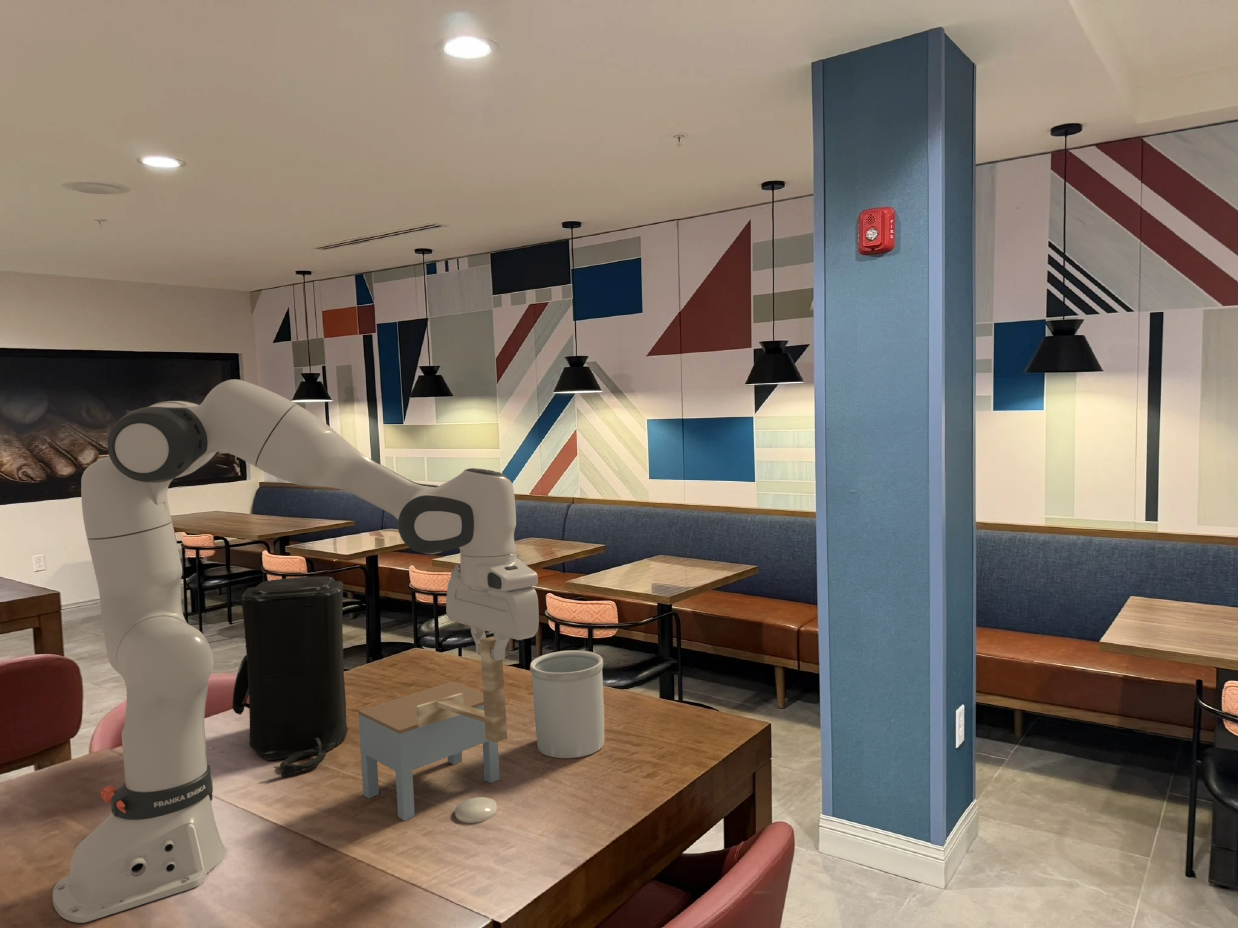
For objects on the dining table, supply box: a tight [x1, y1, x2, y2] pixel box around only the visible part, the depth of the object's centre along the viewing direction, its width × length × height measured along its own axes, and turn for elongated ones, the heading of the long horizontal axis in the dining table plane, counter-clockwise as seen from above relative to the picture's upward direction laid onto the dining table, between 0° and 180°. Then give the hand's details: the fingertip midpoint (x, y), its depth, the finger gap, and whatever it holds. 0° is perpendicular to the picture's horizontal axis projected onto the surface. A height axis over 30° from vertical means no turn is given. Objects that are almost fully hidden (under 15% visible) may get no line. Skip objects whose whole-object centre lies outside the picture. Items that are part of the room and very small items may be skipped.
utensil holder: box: [529, 650, 605, 759], centre depth 165 cm, size 15×15×18 cm
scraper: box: [416, 636, 508, 743], centre depth 135 cm, size 9×18×16 cm, turn 45°
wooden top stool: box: [358, 681, 501, 821], centre depth 149 cm, size 20×14×16 cm
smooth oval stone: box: [454, 796, 498, 824], centre depth 139 cm, size 7×7×1 cm
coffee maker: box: [231, 575, 349, 778], centre depth 172 cm, size 23×32×34 cm
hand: (490, 656), depth 130 cm, fingers closed on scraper, 2 cm apart
